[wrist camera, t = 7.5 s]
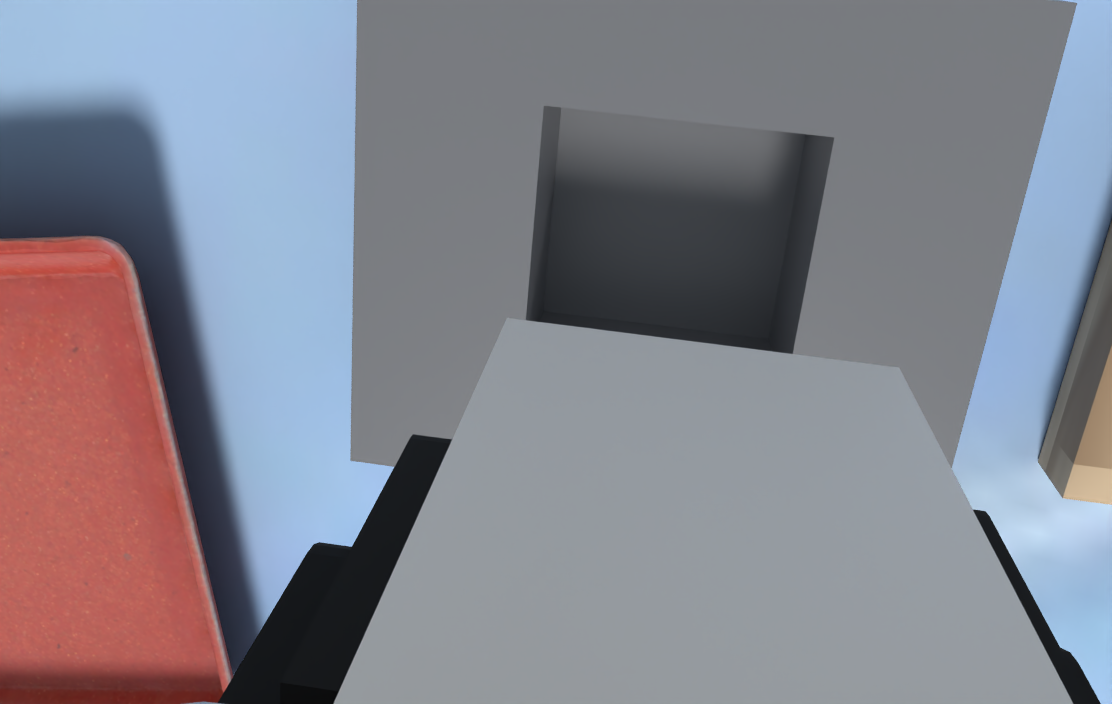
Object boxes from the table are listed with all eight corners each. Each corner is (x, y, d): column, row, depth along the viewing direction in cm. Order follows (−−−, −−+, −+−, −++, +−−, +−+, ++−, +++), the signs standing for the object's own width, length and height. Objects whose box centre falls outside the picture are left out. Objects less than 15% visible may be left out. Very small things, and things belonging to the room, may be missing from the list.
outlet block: (1001, -10, 24) (1077, 2, 20) (891, 443, 29) (932, 539, 24) (417, -67, 25) (358, -69, 20) (401, 379, 30) (350, 460, 25)
